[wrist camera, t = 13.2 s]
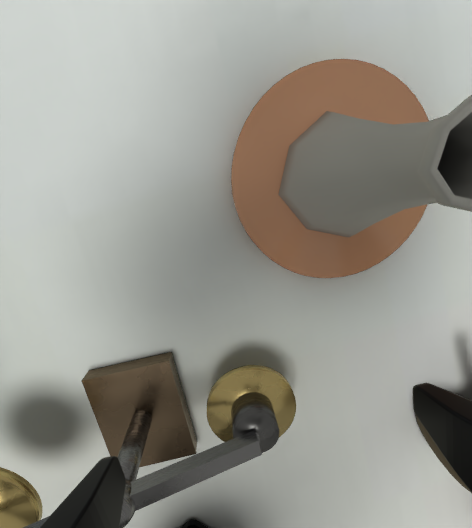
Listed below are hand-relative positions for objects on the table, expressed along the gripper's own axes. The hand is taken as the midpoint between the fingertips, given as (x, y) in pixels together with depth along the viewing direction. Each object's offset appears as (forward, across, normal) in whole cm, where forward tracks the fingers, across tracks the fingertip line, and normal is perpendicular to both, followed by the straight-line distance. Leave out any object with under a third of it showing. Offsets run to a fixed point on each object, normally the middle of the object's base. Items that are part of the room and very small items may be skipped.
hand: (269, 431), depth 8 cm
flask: (+11, -8, -6) cm, 15 cm away
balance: (+12, +8, +7) cm, 16 cm away
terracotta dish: (+12, -8, -6) cm, 16 cm away
